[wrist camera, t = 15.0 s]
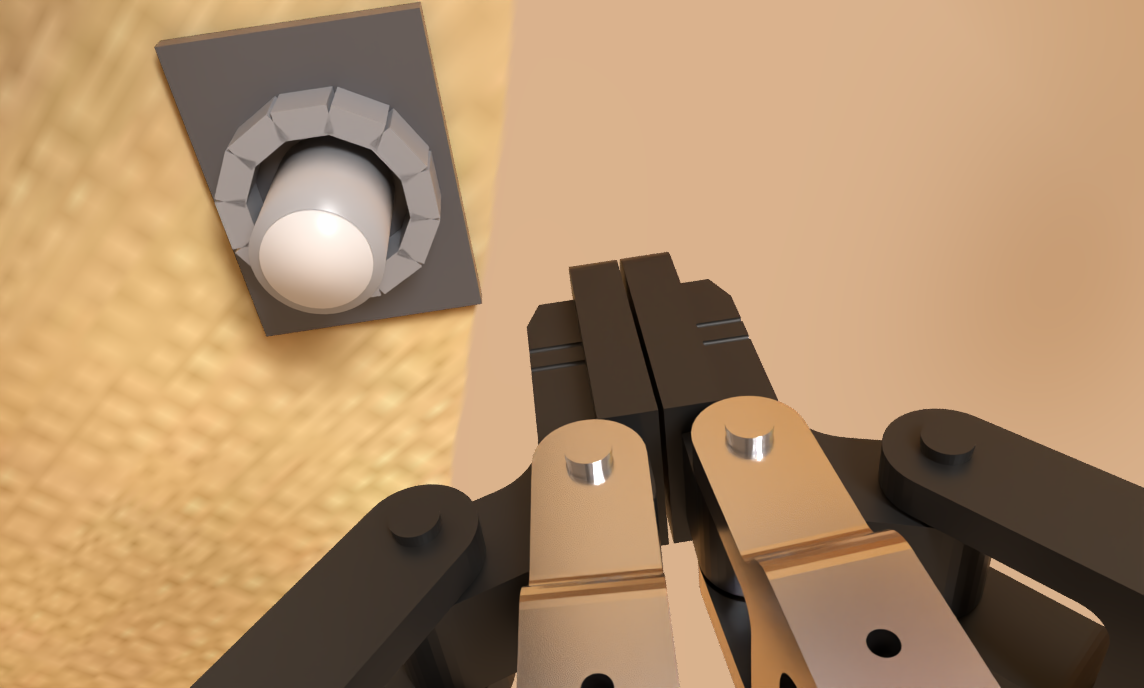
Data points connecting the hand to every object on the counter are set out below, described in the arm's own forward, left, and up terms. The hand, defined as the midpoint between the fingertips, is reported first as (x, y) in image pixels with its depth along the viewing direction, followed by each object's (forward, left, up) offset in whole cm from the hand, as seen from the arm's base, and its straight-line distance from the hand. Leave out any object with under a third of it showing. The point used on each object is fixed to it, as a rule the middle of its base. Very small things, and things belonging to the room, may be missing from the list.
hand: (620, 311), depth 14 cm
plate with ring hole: (+11, -11, -32) cm, 36 cm away
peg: (+11, -11, -31) cm, 35 cm away
